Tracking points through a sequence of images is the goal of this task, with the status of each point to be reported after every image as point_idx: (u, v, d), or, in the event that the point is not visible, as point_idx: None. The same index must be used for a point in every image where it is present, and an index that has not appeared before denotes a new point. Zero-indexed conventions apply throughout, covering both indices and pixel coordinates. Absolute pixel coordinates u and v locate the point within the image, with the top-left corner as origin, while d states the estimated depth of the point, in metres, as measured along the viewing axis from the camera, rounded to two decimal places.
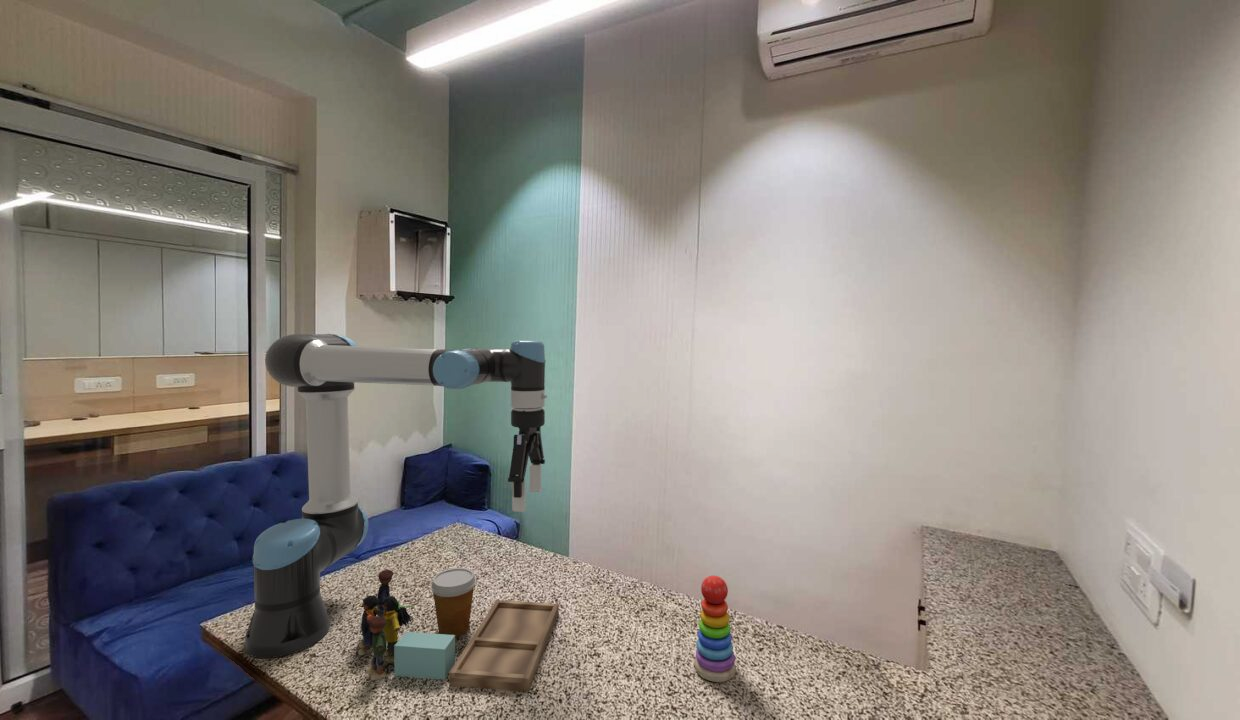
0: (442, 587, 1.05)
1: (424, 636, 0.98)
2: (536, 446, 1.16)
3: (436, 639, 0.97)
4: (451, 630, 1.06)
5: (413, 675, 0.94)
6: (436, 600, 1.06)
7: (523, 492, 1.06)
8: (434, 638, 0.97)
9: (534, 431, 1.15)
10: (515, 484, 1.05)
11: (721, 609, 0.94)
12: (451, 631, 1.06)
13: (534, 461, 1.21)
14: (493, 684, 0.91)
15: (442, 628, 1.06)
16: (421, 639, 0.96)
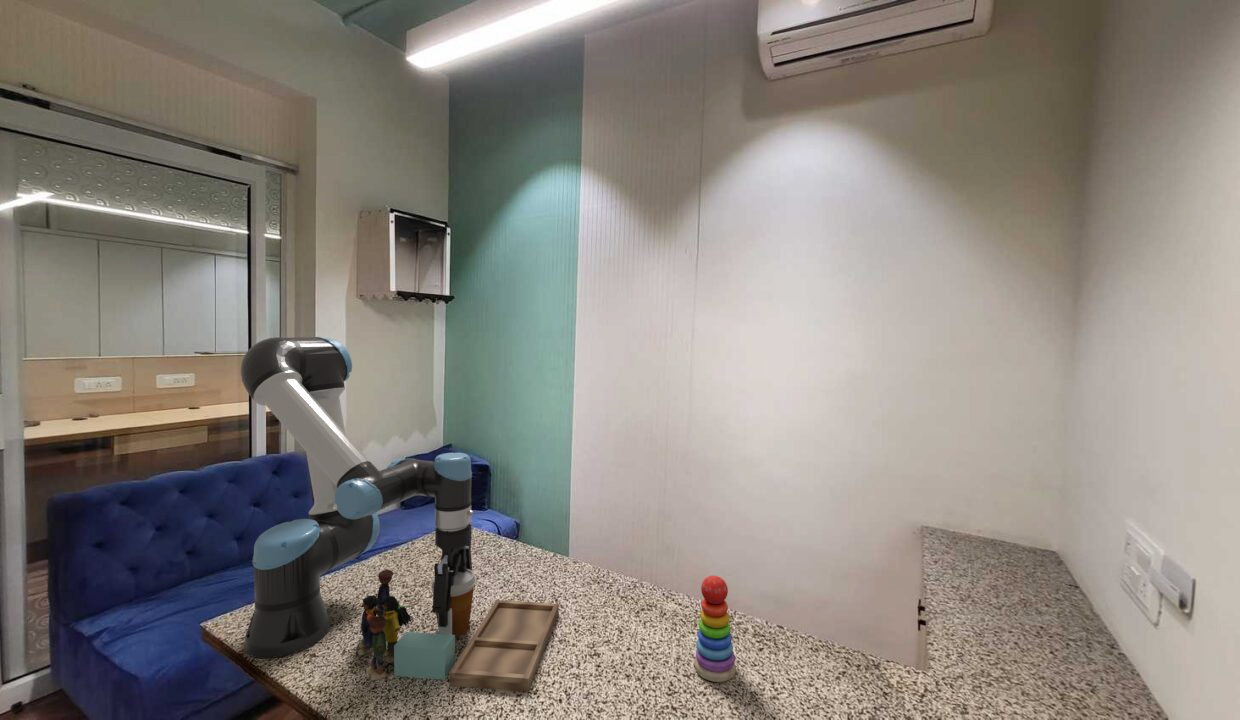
0: None
1: (424, 636, 0.98)
2: (463, 564, 1.11)
3: (436, 639, 0.97)
4: None
5: (413, 675, 0.94)
6: None
7: (449, 620, 1.04)
8: (434, 638, 0.97)
9: None
10: (440, 614, 1.03)
11: (721, 609, 0.94)
12: None
13: None
14: (493, 684, 0.91)
15: None
16: (421, 639, 0.96)
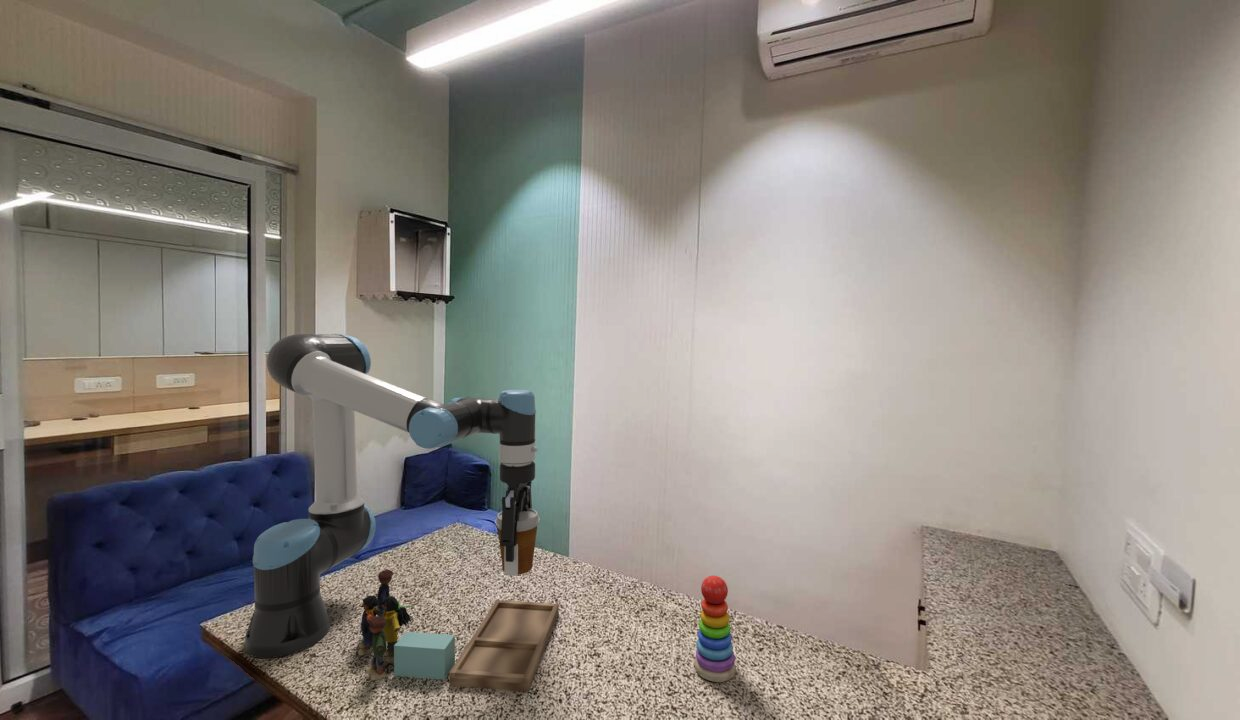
0: None
1: (424, 636, 0.98)
2: (525, 503, 1.10)
3: (436, 639, 0.97)
4: None
5: (413, 675, 0.94)
6: None
7: (515, 555, 1.03)
8: (434, 637, 0.97)
9: (524, 483, 1.09)
10: (507, 548, 1.02)
11: (721, 609, 0.94)
12: None
13: None
14: (493, 684, 0.91)
15: None
16: (420, 639, 0.96)
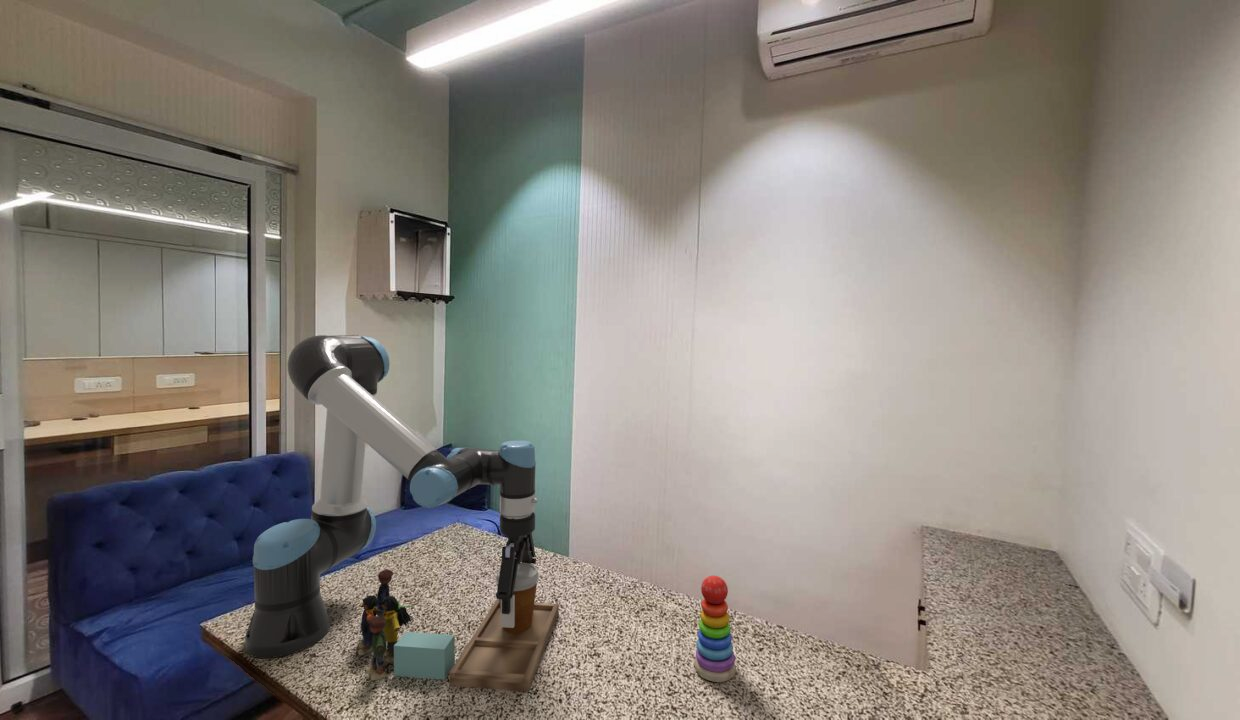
0: None
1: (424, 636, 0.98)
2: (526, 549, 1.11)
3: (436, 639, 0.97)
4: (516, 625, 1.06)
5: (413, 675, 0.94)
6: None
7: (512, 607, 1.01)
8: (433, 637, 0.97)
9: (524, 535, 1.10)
10: (503, 600, 1.00)
11: (721, 609, 0.94)
12: (516, 625, 1.06)
13: (525, 561, 1.16)
14: (493, 684, 0.91)
15: None
16: (420, 639, 0.96)
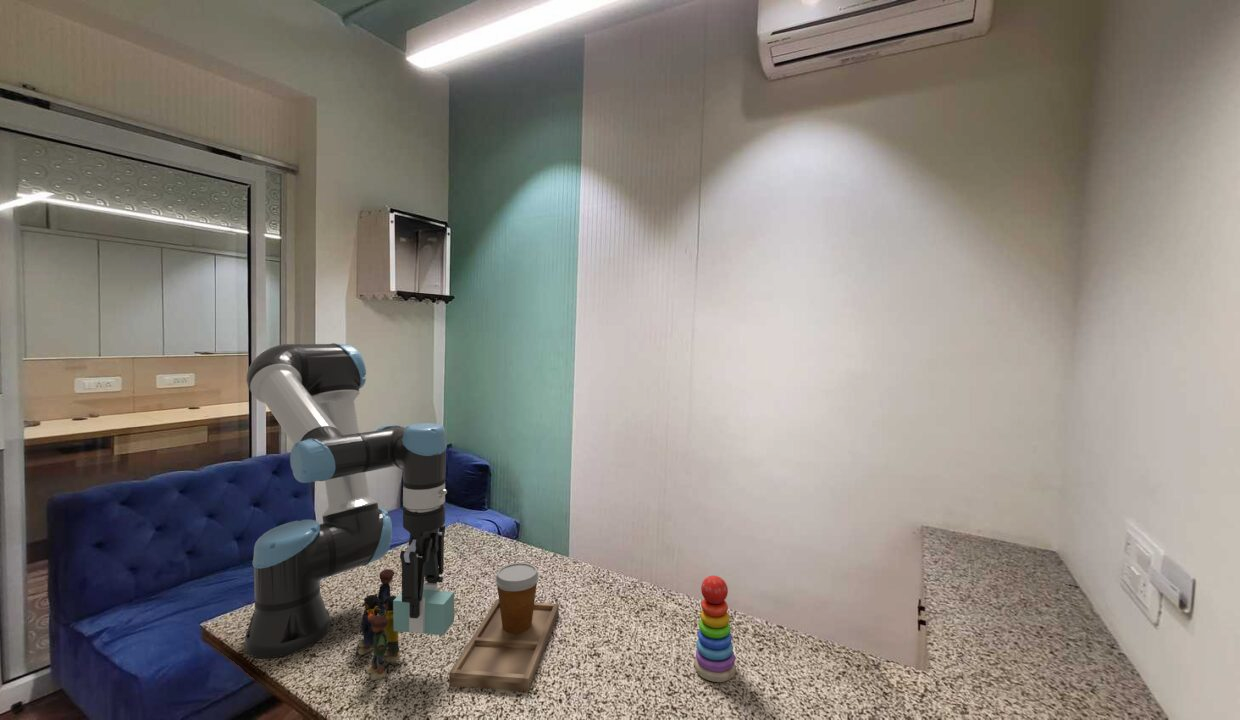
0: (508, 581, 1.04)
1: (424, 592, 0.97)
2: (433, 552, 0.97)
3: (435, 595, 0.96)
4: (516, 625, 1.06)
5: None
6: (501, 595, 1.06)
7: (421, 611, 0.93)
8: (433, 594, 0.97)
9: None
10: (411, 603, 0.92)
11: (721, 609, 0.94)
12: (516, 625, 1.06)
13: (429, 579, 0.99)
14: (493, 684, 0.91)
15: (507, 622, 1.06)
16: None
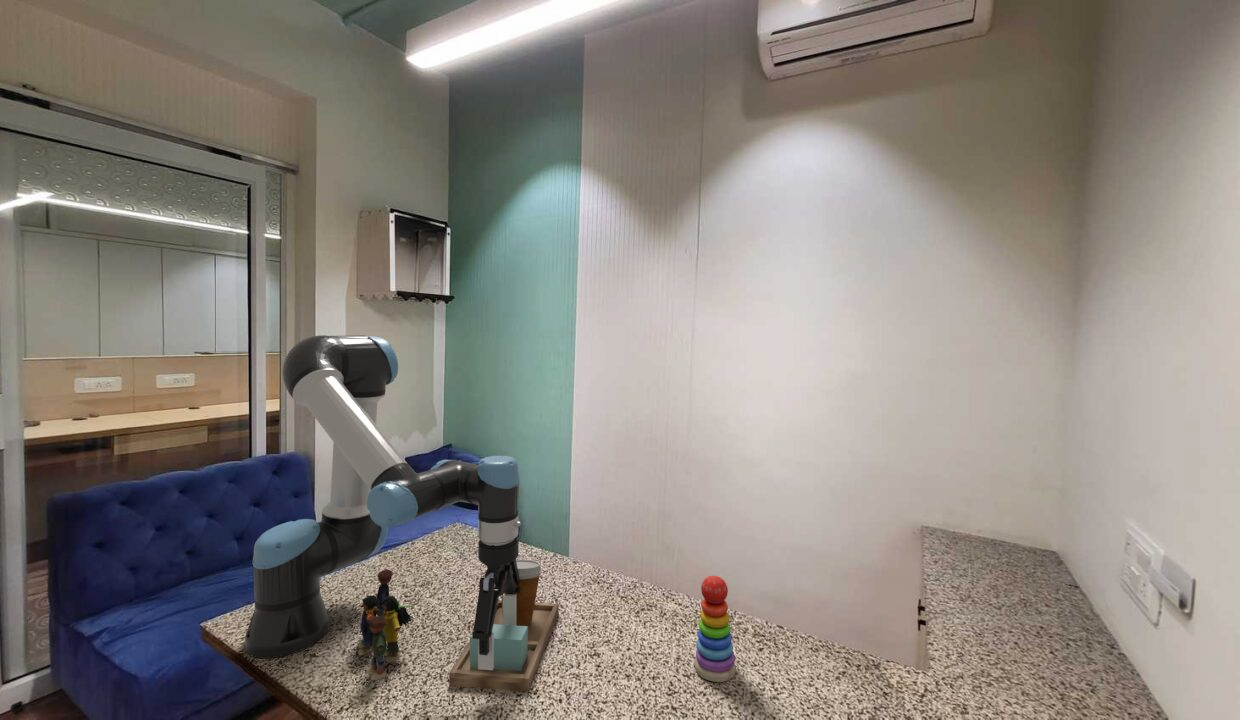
0: None
1: (498, 627, 0.98)
2: (509, 578, 0.99)
3: (510, 630, 0.97)
4: (517, 617, 1.06)
5: None
6: None
7: (491, 647, 0.89)
8: (507, 629, 0.97)
9: None
10: (481, 639, 0.88)
11: (721, 609, 0.94)
12: (517, 618, 1.06)
13: (508, 590, 1.03)
14: (493, 684, 0.91)
15: None
16: (495, 631, 0.97)
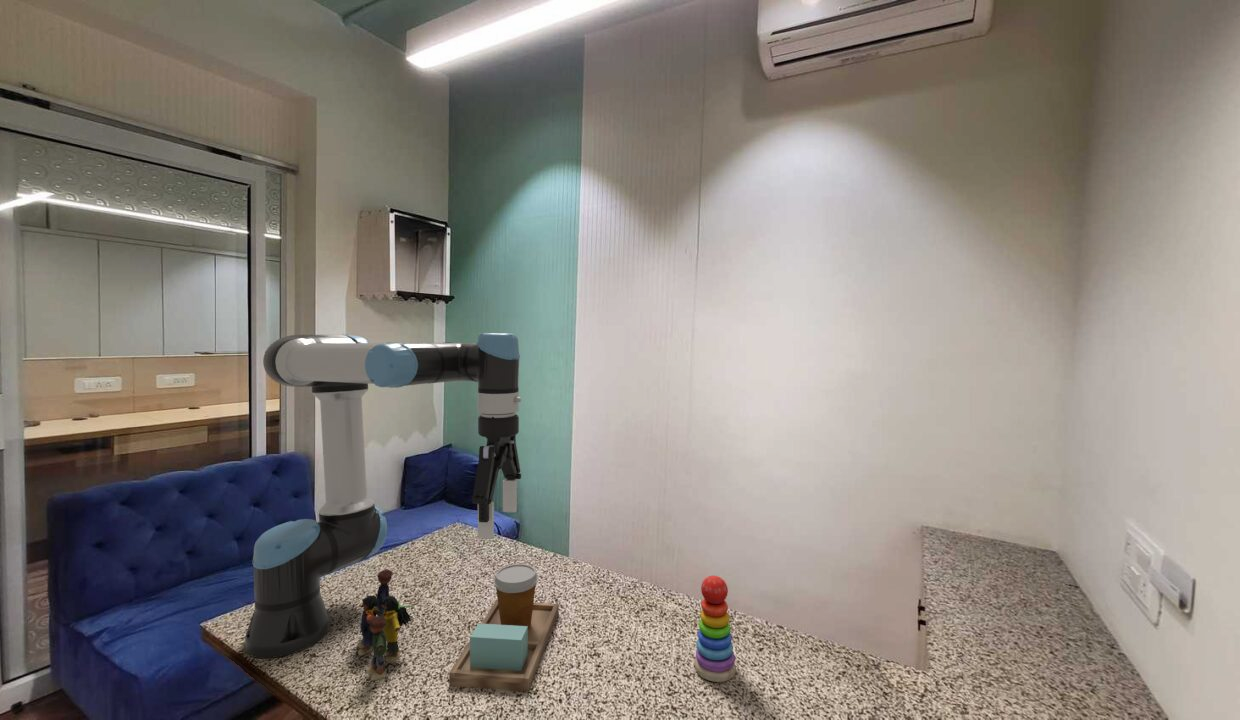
0: (507, 583, 1.04)
1: (498, 627, 0.98)
2: (509, 459, 0.98)
3: (510, 630, 0.97)
4: None
5: (489, 666, 0.95)
6: (500, 597, 1.05)
7: (491, 515, 0.88)
8: (507, 629, 0.97)
9: (507, 441, 0.96)
10: (480, 506, 0.87)
11: (721, 609, 0.94)
12: None
13: (508, 476, 1.02)
14: (493, 684, 0.91)
15: (506, 624, 1.05)
16: (495, 631, 0.97)
